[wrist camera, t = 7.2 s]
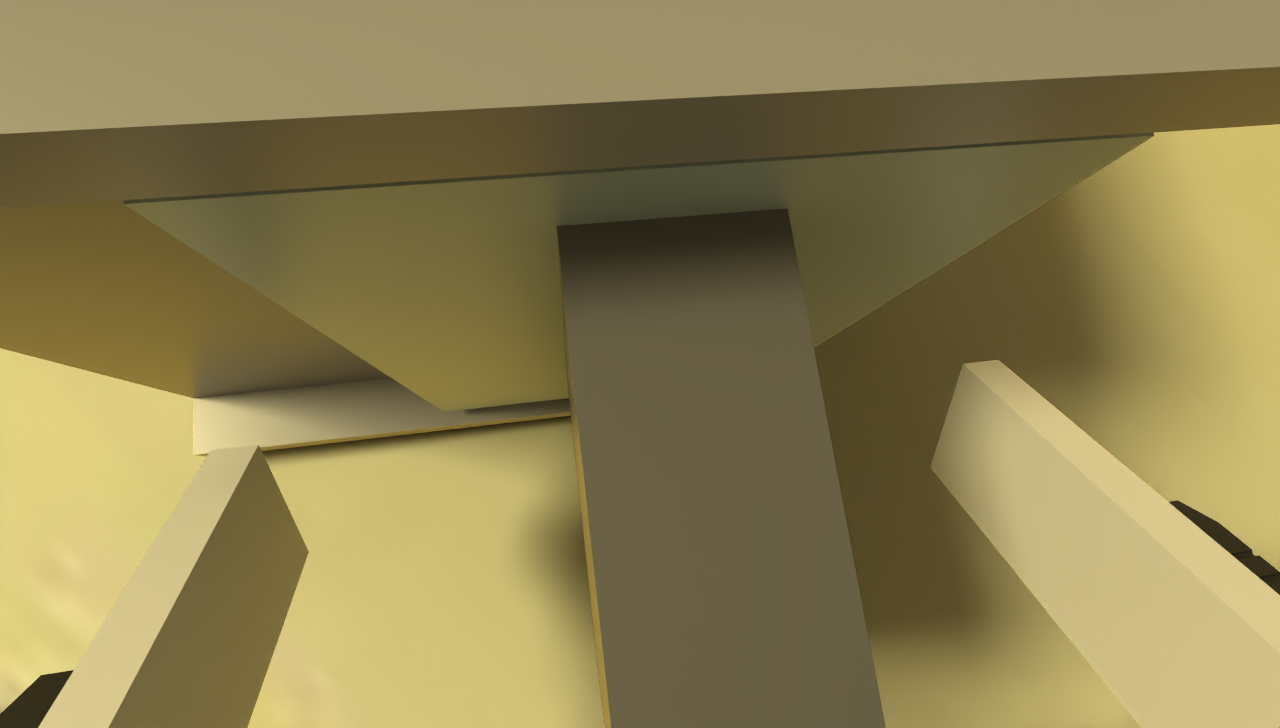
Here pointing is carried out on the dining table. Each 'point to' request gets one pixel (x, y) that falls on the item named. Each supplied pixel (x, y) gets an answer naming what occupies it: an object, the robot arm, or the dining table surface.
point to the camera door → (658, 372)
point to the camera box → (499, 141)
